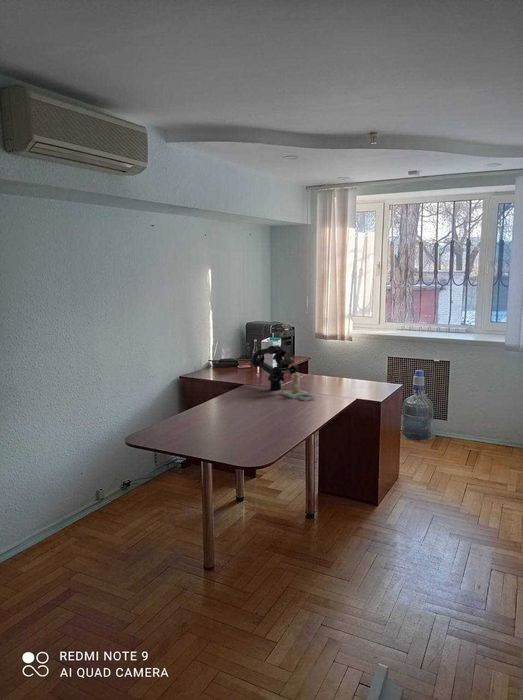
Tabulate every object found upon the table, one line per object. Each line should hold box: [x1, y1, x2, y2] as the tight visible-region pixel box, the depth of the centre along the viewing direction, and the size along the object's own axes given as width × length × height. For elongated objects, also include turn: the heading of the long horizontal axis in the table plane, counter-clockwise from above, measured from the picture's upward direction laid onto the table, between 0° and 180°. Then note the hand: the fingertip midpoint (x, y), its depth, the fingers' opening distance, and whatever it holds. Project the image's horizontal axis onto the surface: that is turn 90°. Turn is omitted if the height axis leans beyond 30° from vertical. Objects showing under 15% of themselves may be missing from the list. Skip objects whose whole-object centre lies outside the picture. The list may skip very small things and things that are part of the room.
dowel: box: [291, 372, 300, 394], centre depth 327 cm, size 5×5×13 cm
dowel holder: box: [296, 393, 315, 402], centre depth 319 cm, size 8×8×2 cm
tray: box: [282, 389, 309, 399], centre depth 328 cm, size 12×12×2 cm
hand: (289, 380), depth 333 cm, fingers open, 9 cm apart
